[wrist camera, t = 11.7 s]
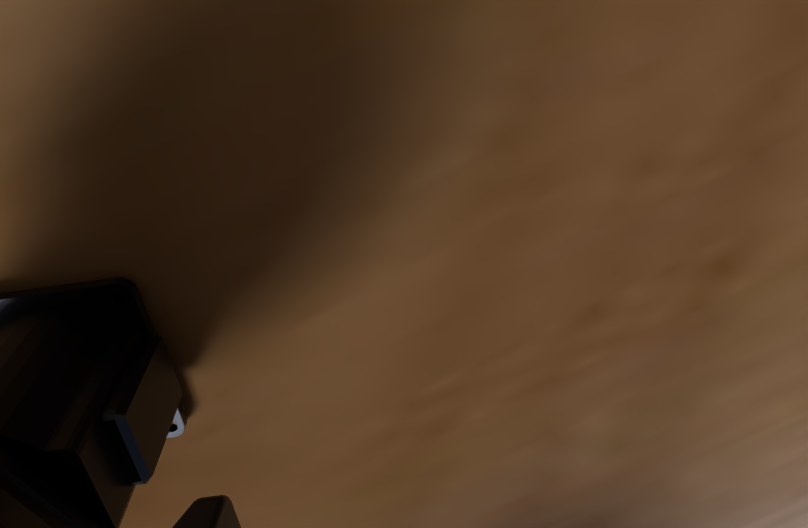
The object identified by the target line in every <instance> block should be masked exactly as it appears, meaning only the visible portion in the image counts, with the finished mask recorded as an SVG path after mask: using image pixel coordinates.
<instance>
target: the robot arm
mask: <svg viewBox="0 0 808 528" xmlns="http://www.w3.org/2000/svg"><path fill="white" fill-rule="evenodd" d="M115 291H121V292H123V293H124V294H125V295H126V296H127V297H126V298H122V297H119V296H118V295H117V294H116V293H115ZM182 394H183V392H182V389H181V387H180V384H179V381H178V379H177V376H176V373H175V371H174V368H173V365H172V363H171V360H170V357H169V355H168V352H167V349H166V347H165V344H164V341H163V339H162V338H161V337H160V336H159V335H158V334H157V333H154V330H153V327H152V325H151V322H150V320H149V317H148V314H147V312H146V309H145V306H144V304H143V301H142V299H141V296H140V293H139V291H138V288H137V287H136V285H135V284H134V283H133V282H131V281H130V280H128V279H125V278H112V279H105V280H98V281H91V282H83V283H76V284H69V285H61V286H54V287H47V288H39V289H32V290H25V291H17V292H10V293H3V294H0V528H119V526H120V524H121V521H122V519H123V516H124V514H125V511H126V509H127V506H128V503H129V501H130V498H131V496H132V493H133V491H134V488H135V486H136V485H140V484H146V483H147V482H148V481H149V479H150V478H151V477H152V475H153V473H154V470H155V467H156V465H157V462H158V459H159V457H160V454H161V451H162V449H163V446H164V443H165V441H166V438H171V437H176V436H179V435H181V434H182V433H183V431H184V429H185V426H186V423H187V417H186V414H185V412H184V409H183V406H182V404H181V401H180V400H181V398H182ZM172 422H174V423H176V424H172ZM173 528H241V526H240V524H239V521H238V518H237V515H236V513H235V510H234V507H233V504H232V502H231V500H230V499H229V497H227V496H225V495H219V496H211V497H203V498H199V499H197V500H196V501H194V502H193V503H192V505H191V506H190V507H189V508H188V509H187V511H186V512H185V513H184V514H183V515H182V517H181V518H180V519H179V520H178V522H177V523H176V524H175V525H174V526H173Z"/></svg>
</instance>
